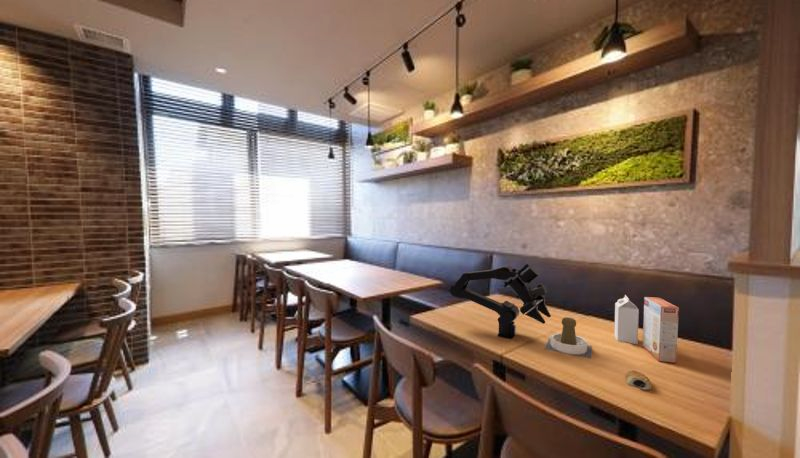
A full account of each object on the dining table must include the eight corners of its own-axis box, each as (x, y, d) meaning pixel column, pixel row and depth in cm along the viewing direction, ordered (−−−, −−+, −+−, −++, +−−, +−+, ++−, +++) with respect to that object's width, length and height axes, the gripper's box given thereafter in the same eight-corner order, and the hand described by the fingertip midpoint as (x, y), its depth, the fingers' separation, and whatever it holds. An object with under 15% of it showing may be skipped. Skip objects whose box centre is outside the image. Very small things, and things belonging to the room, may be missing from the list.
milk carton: (633, 338, 140) (635, 295, 139) (637, 345, 134) (639, 299, 132) (614, 336, 143) (615, 293, 142) (617, 342, 136) (618, 297, 135)
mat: (544, 350, 129) (544, 349, 129) (549, 339, 140) (549, 338, 140) (591, 360, 121) (591, 358, 120) (592, 347, 132) (592, 346, 131)
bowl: (548, 350, 128) (548, 341, 128) (552, 338, 139) (553, 331, 139) (586, 357, 121) (586, 348, 121) (587, 345, 132) (587, 337, 132)
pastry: (623, 374, 110) (623, 363, 110) (648, 379, 107) (648, 368, 107) (626, 387, 102) (627, 375, 102) (653, 393, 99) (654, 381, 99)
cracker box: (677, 364, 117) (679, 307, 116) (658, 361, 119) (659, 305, 117) (659, 348, 130) (661, 297, 129) (641, 346, 132) (643, 296, 131)
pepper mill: (580, 347, 128) (581, 320, 127) (567, 348, 127) (567, 321, 126) (569, 341, 134) (570, 315, 133) (556, 342, 133) (557, 316, 132)
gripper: (528, 282, 129) (557, 315, 123) (541, 275, 144) (567, 303, 138) (508, 298, 135) (535, 330, 129) (522, 289, 149) (547, 318, 143)
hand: (547, 319), depth 135 cm, fingers open, 9 cm apart
